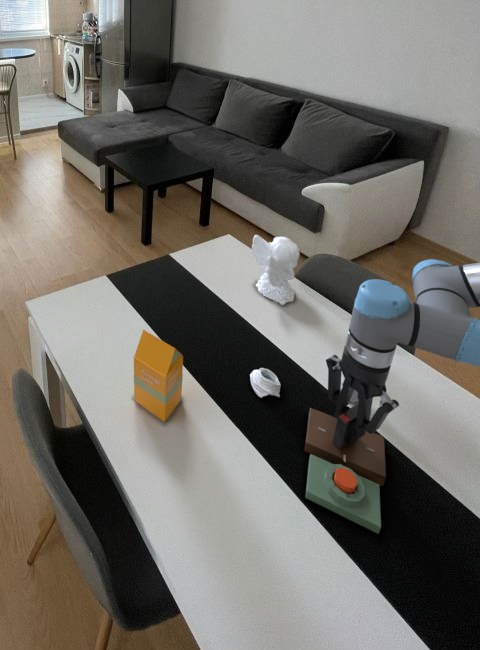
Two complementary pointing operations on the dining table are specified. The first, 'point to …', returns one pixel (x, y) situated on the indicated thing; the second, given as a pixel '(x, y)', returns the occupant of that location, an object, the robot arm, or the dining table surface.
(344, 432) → the red-tipped grey box
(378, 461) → the panel
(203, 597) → the dining table surface
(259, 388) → the white folded cloth ring
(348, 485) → the button
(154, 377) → the orange juice
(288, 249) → the cherub figurine
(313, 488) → the button block
